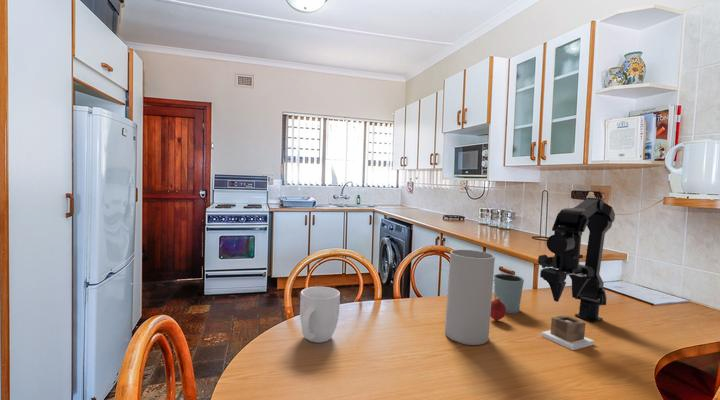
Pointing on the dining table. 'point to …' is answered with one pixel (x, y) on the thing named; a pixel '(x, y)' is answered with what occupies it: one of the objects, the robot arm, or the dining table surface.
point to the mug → (319, 313)
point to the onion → (497, 309)
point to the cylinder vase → (469, 296)
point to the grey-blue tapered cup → (508, 291)
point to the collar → (568, 328)
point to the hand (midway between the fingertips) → (565, 299)
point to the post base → (570, 345)
